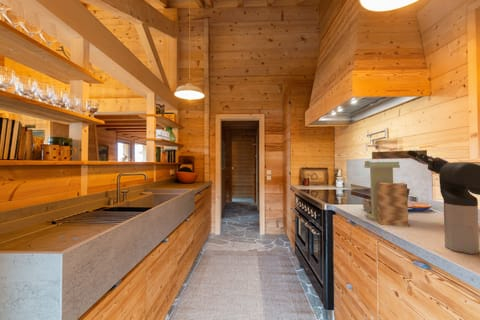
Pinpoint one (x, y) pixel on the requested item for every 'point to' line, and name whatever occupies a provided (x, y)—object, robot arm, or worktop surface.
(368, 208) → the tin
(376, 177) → the t-shaped pedestal stand
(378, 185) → the block
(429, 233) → the worktop surface
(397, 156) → the walnut rod
